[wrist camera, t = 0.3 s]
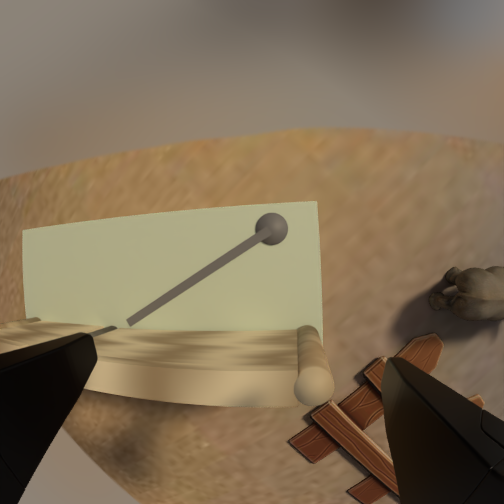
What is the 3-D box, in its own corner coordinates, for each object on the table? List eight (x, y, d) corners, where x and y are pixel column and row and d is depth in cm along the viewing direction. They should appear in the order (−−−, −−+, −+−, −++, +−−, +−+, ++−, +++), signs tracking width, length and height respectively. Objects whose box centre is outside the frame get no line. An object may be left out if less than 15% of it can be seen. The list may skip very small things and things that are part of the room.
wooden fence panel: (33, 333, 27) (-45, 351, 16) (31, 316, 27) (-48, 330, 16) (121, 343, 25) (36, 379, 14) (118, 323, 25) (31, 351, 14)
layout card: (32, 346, 27) (29, 346, 27) (25, 230, 28) (22, 230, 27) (322, 364, 23) (322, 366, 23) (316, 202, 24) (316, 200, 23)
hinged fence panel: (122, 344, 25) (44, 379, 15) (120, 324, 25) (39, 350, 15) (319, 347, 23) (333, 404, 13) (318, 324, 23) (335, 368, 13)
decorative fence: (407, 530, 22) (510, 448, 20) (410, 539, 20) (517, 454, 19) (281, 428, 24) (417, 313, 23) (279, 438, 23) (425, 316, 21)
